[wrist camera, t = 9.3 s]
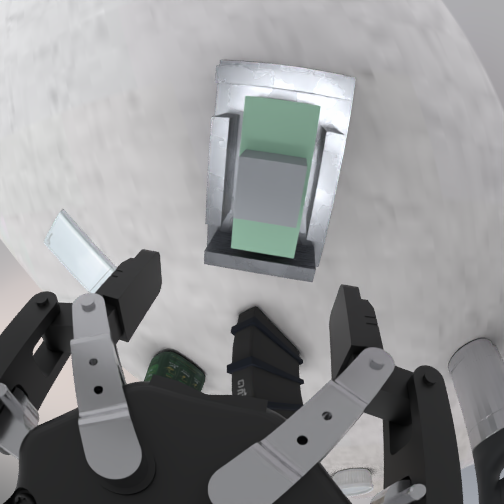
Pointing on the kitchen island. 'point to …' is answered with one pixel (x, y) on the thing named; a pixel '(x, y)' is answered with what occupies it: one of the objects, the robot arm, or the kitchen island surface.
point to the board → (283, 139)
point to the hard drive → (78, 253)
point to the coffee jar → (176, 370)
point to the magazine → (265, 364)
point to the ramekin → (354, 481)
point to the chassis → (322, 168)
